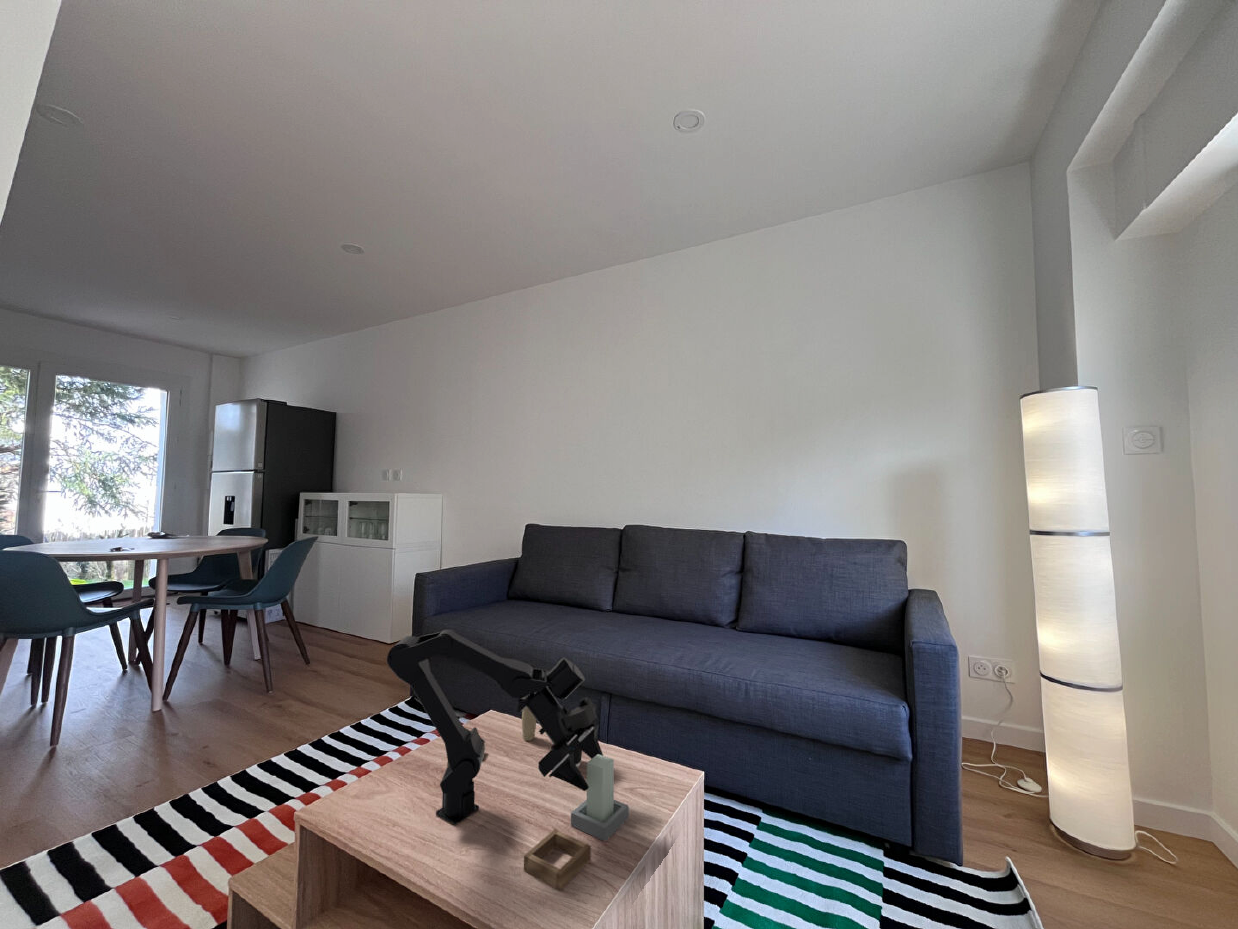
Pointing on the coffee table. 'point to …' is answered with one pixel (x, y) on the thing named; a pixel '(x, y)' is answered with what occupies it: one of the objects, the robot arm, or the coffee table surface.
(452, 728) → the robot arm
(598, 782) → the peg
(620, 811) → the socket
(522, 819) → the coffee table surface
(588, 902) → the coffee table surface
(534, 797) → the coffee table surface
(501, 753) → the coffee table surface
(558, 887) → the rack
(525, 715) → the handle
